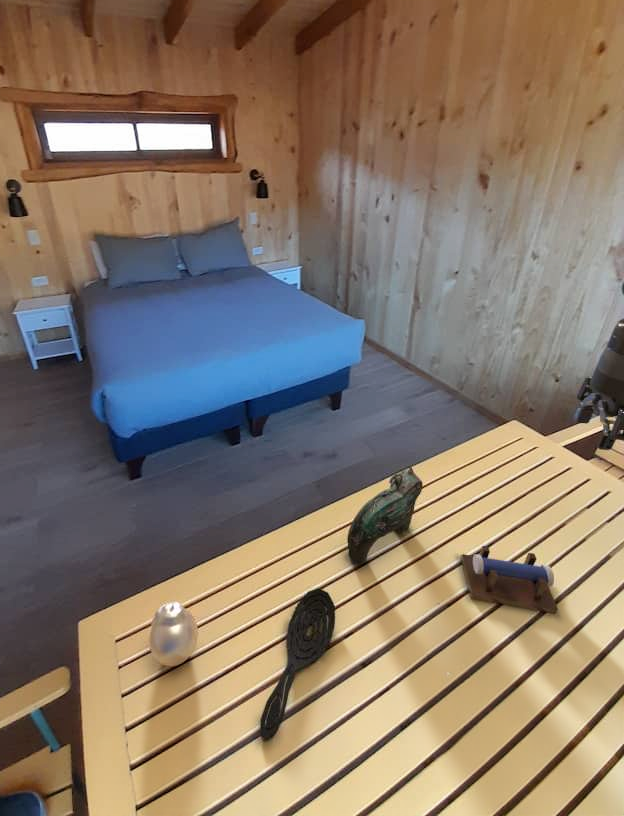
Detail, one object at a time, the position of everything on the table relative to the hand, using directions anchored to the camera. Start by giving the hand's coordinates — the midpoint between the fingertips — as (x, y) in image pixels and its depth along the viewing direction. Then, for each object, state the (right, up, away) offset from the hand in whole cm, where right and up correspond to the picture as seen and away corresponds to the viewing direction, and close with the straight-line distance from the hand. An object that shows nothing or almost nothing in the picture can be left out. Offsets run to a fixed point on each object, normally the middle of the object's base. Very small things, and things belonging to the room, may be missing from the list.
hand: (591, 434), depth 86 cm
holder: (-19, -32, 0) cm, 37 cm away
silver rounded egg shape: (-87, -38, -9) cm, 96 cm away
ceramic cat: (-42, -28, +9) cm, 52 cm away
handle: (-19, -29, -2) cm, 34 cm away
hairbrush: (-64, -39, -12) cm, 76 cm away
